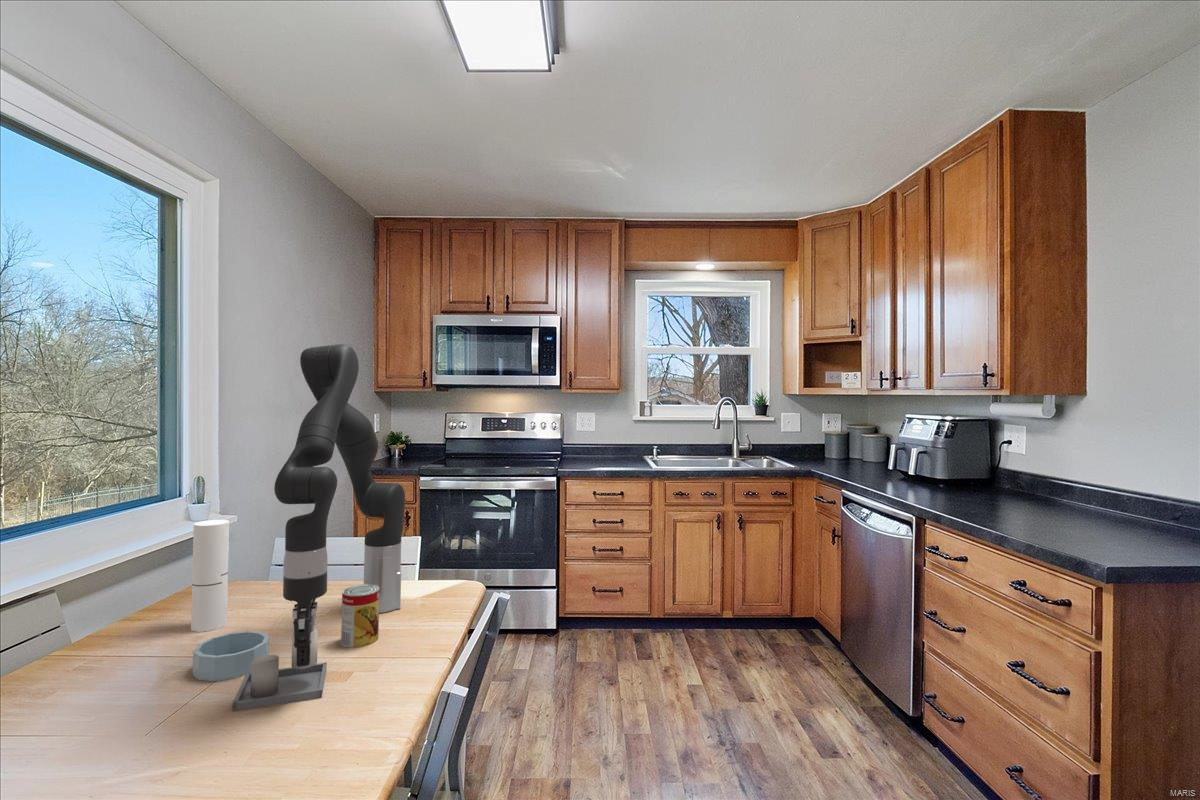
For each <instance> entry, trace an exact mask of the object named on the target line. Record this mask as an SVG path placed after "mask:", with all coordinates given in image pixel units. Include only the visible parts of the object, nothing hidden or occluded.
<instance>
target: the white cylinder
mask: <svg viewBox="0 0 1200 800" xmlns="http://www.w3.org/2000/svg"><path fill="white" fill-rule="evenodd" d="M279 666H280V657H279V655H276V654H269V655H265V656H261V657H258V658H256V659H254V660H253V661H252V662H251V697H252V698H263V697H269V696H271V695H273V694H275V693H276V692H277V691H278V673H279V669H280V668H279Z"/></svg>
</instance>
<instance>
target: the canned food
mask: <svg viewBox="0 0 1200 800" xmlns="http://www.w3.org/2000/svg"><path fill="white" fill-rule="evenodd" d="M341 595H342V596H341V623H340V624H341V627H340V628H341V630H340V633H341V634H340V635H341V636H340V639H341V640H340V645H341V646H344V647H345V648H361V647H362V648H363V647H367V646H370V645H372V644H374V643H376V642H377V641H378V640H379V626H380V625H379V624H380V623H379V622H380V621H379V620H380V619H379V618H380V613H379V587H378V586H376V585H371V584H364V583H363V584H357V585H352V586H347V587H345V588H344V589H343V590H342V593H341Z"/></svg>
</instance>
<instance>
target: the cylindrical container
mask: <svg viewBox="0 0 1200 800" xmlns="http://www.w3.org/2000/svg"><path fill="white" fill-rule="evenodd" d="M192 533H193V537H192V539H193V541H192V543H193V544H192V570H191V571H192V572H191V573H192V575H191V576H192V577H191V578H192V579H191V583H192V584H191V610H190V611H191V614H190V615H191V616H190V618H191V619H190V631H191V630H192V632H194V631H195V632H194V633H204V631H207V632H211V630H212V631H216V630H218V629H221V627H222V628H224V627H225V626H226V625H228V623H227V622H228V621H227V620H228V619H227V618H228V590H229V589H228V588H229V587H228V584H229V583H228V582H229V554H230V553H229V546H230V544H229V542H230V520H227V519H208V520H203V521H202V520H201V521H196V522H195V523H193V532H192ZM215 629H216V630H215Z"/></svg>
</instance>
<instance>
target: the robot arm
mask: <svg viewBox="0 0 1200 800" xmlns="http://www.w3.org/2000/svg"><path fill="white" fill-rule="evenodd" d="M299 360H300V361H299V362H300V368H301V372H302V375H303V377H304V381H305V382H306V384H307V386H308V388H309V389H310V392H311V393H312V395H313V397H314V399H315V400H316V403H315V405H314V406H312V407H311V409H309V411H308V412H307V413H306V414H305V416H304V418H302V421H301V424H300V426H299V429H298V433H297V438H296V442H295V446H294V449H293V450H292V452H291V453H290V455H289V457H288V459H287V460H286V462H285V463H284V464H283V466H282V467H281V469H280V470H279V473H278V474H277V476H276V478H275V482H274V487H273V489H274V490H273V491H274V494H275V498H276V499H277V500H278V501H279V502H280V503H282V504H284V505H305V504H306V505H312V504H313V505H314V508H313V510H312V511H311V512H308V513H306V514H301V515H296V516H293V517H291V518H289V519H288V520H287V521H286V523H285V533H284V535H285V538H284V540H285V541H284V542H285V543H284V547H285V548H284V549H285V550H284V556H283V573H282V574H283V575H282V576H283V577H282V581H283V582H282V583H283V584H282V590H283V591H282V592H283V593H282V597H283V599H285V601H289V602H295V604H294V606H293V608H292V618H293V622H292V623H293V628H292V629H293V630H292V633H294V646H295V648H297V662H296V665H297V666H298V667H301V666H307V665H309V663H310V645H311V632H313V630H314V628H315V625H316V621H317V611H318V601H316V600H317V599H319V598H321V597H323V596H324V595H325V594H327V591H328V552H327V525H328V518H329V514H330V510H331V506H332V503H333V501H334V497H335V495H336V491H337V487H338V477H337V474H336V473H335V470H333V469H332V468H330V467H328V466H323V465H324V464H327V463H329V462H330V461H331V459H332V458H333V454H334V451H335V446H336V447H337V449H338V453H339V454H340V456H341V458H342V461H343V464H344V465H345V468H346V471H347V474H348V476H349V479H350V481H351V485H352V489H353V493H354V496H355V500H356V503H357V505H358V509H359V511H360V512H361V513H362V514H363V515H364V516H366V517H369V518H382V519H383V524H382V526H380V527H379V528H375V529H373V530H369V531H367V532H366V534H365V535H364V549H363V550H364V553H363V555H364V557H363V558H364V559H363V584H371V585H376V586H378V587H379V614H381V613H387V612H392V611H395V610H399V609H401V604H402V603H401V599H402V598H401V596H402V595H401V594H402V592H401V591H402V569H401V568H402V566H401V565H402V562H401V561H402V536H403V535H402V534H403V532H404V523H405V522H404V521H405V507H406V506H405V505H406V492H405V489H404V487H403V486H402V484H401V483H394V482H377V481H376V480H375V479H374V477H373V475H372V472H371V469H372V466H373V463H374V461H375V459H376V457H377V455H378V454H377V453H378V452H379V441H378V437H377V435H376V432H375V429H374V427H373V424H372V422H371V421H370V419H369V418H368V417H367V416H366V415H365V414H364V413H362V412H361V411H360V410H359V409H356V407H354V406H353V405H352V404H350V403H349V402H348V401H349V400H350V398H351V395H352V392H353V389H354V388H355V384H356V382H357V380H358V379H357V378H358V376H359V370H360V369H359V367H360V366H359V360H358V356H357V353H356V351H355V349H354V348H353V347H352V346H351V345H349V344H345V343H344V344H343V343H342V344H340V343H338V344H330V345H321V346H314V347H313V346H312V347H309V348H305V349H304V350H303V351H301V353H300V358H299ZM321 465H322V466H321ZM299 637H306V639H304V640H299Z"/></svg>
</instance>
